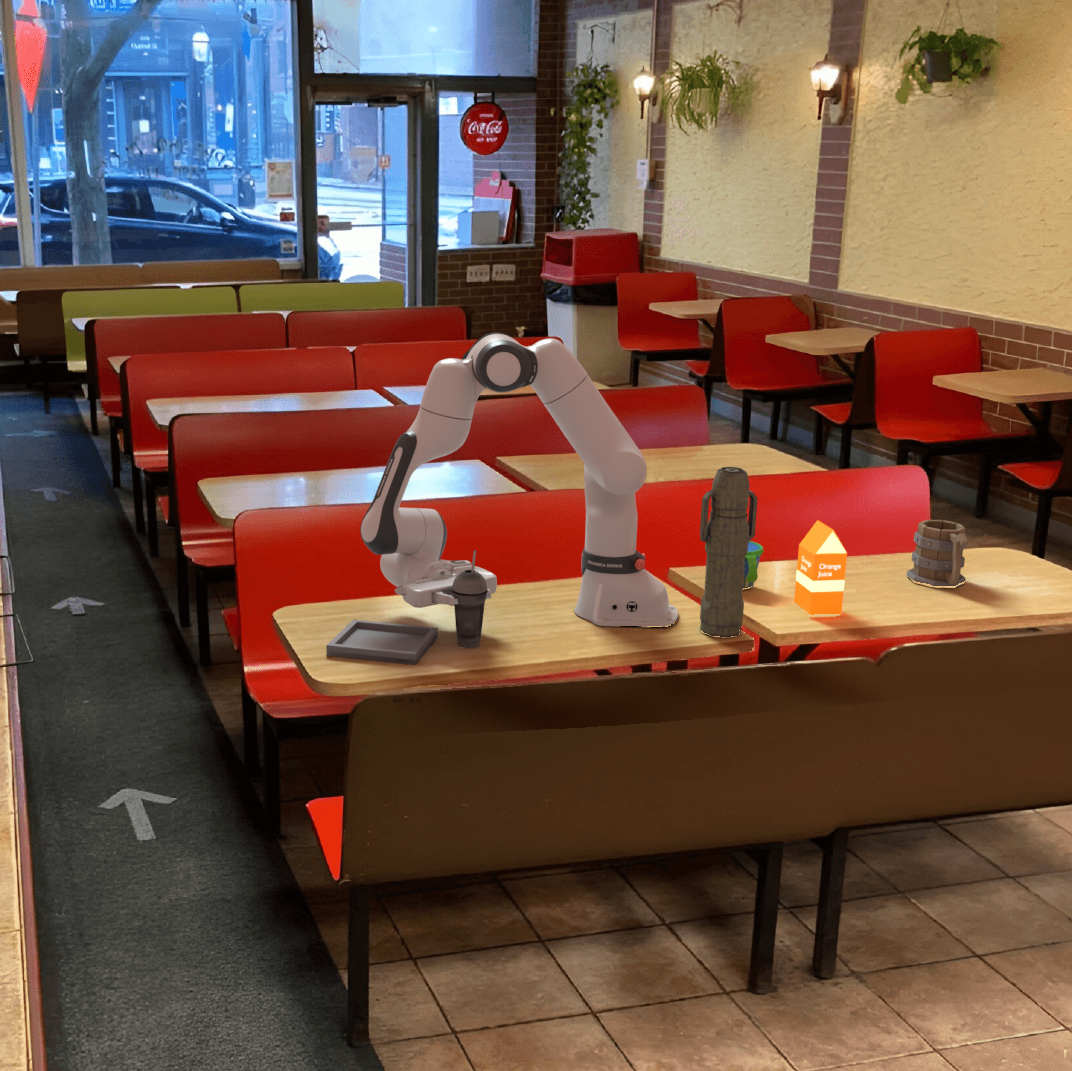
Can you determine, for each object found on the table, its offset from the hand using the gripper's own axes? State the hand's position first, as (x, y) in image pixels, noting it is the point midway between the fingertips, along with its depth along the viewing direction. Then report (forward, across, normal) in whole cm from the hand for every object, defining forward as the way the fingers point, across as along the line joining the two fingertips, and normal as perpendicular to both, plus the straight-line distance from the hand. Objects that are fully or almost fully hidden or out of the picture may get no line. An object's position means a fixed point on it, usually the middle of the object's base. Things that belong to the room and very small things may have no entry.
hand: (472, 598), depth 265 cm
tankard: (+27, +118, +10) cm, 122 cm away
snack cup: (+1, +75, +10) cm, 76 cm away
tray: (-9, -15, +10) cm, 20 cm away
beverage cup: (-1, 0, +10) cm, 10 cm away
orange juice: (+24, +78, +10) cm, 82 cm away
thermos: (+21, +49, +10) cm, 55 cm away
